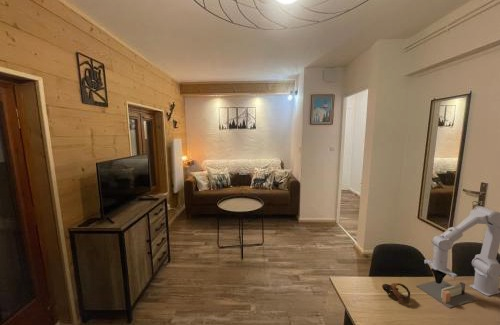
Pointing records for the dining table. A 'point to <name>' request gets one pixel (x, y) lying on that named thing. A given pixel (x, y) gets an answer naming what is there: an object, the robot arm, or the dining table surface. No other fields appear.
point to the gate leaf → (453, 290)
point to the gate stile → (446, 296)
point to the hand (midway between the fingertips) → (438, 282)
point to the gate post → (463, 288)
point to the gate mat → (436, 289)
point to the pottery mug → (394, 289)
